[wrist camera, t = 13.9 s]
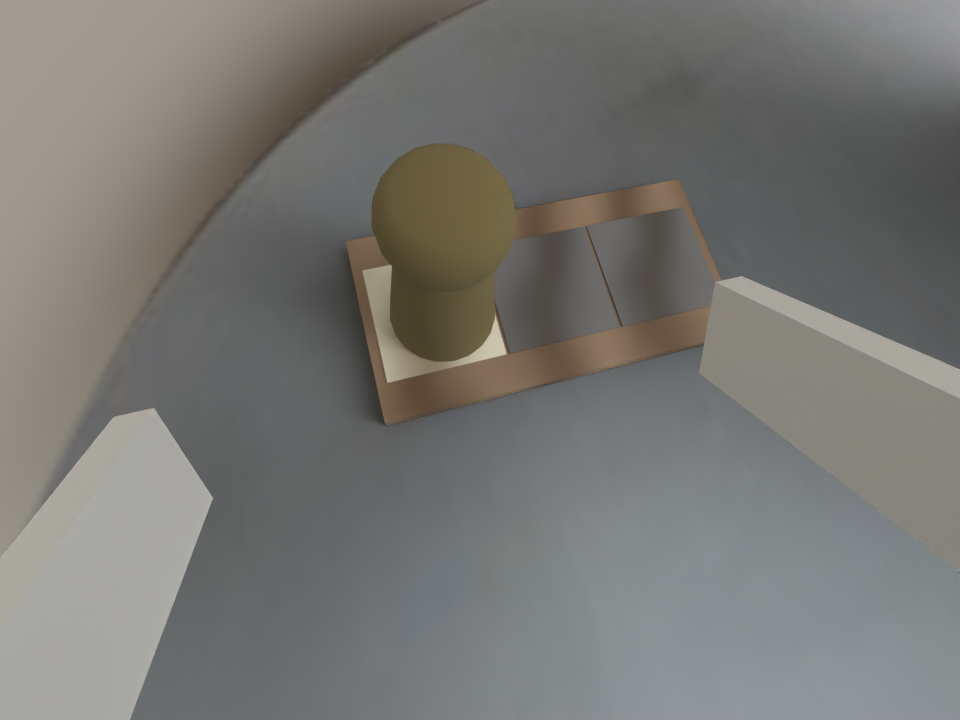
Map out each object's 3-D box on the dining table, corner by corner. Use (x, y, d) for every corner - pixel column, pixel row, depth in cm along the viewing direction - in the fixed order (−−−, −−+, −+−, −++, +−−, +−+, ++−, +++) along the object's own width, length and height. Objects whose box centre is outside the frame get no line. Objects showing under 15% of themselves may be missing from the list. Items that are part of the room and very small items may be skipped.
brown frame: (669, 190, 30) (679, 177, 28) (731, 337, 27) (745, 331, 26) (349, 251, 26) (344, 240, 25) (387, 425, 24) (384, 423, 23)
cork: (399, 371, 23) (365, 289, 13) (381, 271, 25) (337, 122, 14) (505, 351, 24) (557, 258, 14) (482, 255, 26) (513, 104, 15)
